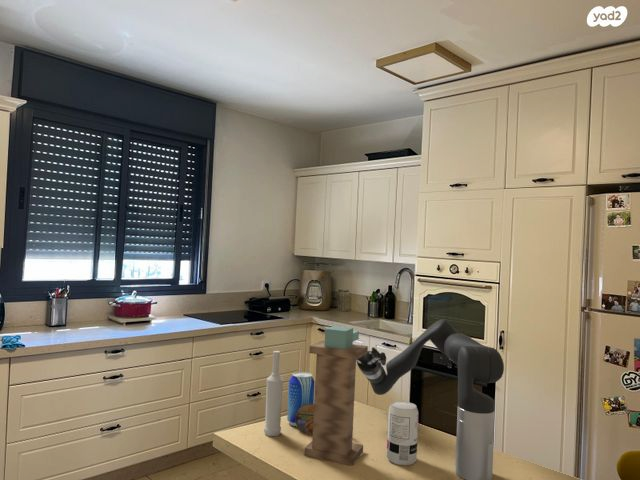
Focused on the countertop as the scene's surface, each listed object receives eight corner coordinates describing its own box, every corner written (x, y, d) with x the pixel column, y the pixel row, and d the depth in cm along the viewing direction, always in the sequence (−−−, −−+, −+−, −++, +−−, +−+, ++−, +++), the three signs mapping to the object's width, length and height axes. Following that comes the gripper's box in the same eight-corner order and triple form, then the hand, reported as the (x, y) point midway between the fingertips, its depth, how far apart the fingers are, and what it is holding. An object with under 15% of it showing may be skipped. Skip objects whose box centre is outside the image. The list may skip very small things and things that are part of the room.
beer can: (283, 420, 155) (285, 372, 156) (306, 418, 158) (309, 370, 159) (292, 429, 147) (295, 378, 148) (316, 426, 151) (319, 376, 151)
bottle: (277, 437, 140) (282, 353, 141) (261, 435, 141) (266, 352, 142) (282, 431, 145) (287, 350, 146) (266, 429, 146) (271, 349, 147)
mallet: (364, 339, 144) (364, 323, 145) (344, 349, 127) (345, 331, 127) (345, 337, 147) (346, 321, 147) (324, 346, 129) (325, 328, 129)
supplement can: (381, 455, 131) (383, 401, 131) (406, 452, 134) (408, 399, 134) (395, 468, 123) (398, 410, 124) (422, 464, 126) (424, 408, 127)
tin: (294, 431, 146) (295, 404, 146) (295, 427, 149) (297, 401, 149) (342, 435, 144) (343, 408, 144) (342, 432, 147) (343, 405, 148)
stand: (362, 451, 132) (367, 346, 134) (352, 465, 123) (357, 351, 124) (317, 442, 138) (322, 340, 139) (304, 455, 128) (309, 345, 130)
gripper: (352, 352, 169) (341, 335, 156) (391, 357, 163) (383, 340, 151) (348, 373, 165) (337, 356, 152) (388, 378, 160) (379, 362, 147)
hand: (360, 348), depth 151 cm, fingers open, 8 cm apart
